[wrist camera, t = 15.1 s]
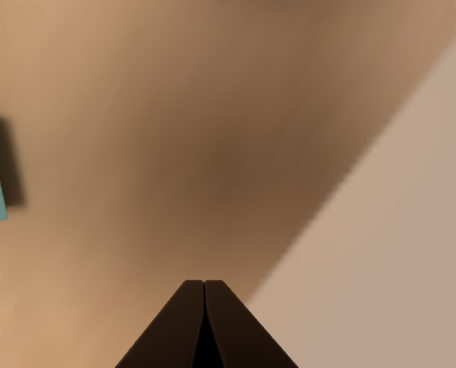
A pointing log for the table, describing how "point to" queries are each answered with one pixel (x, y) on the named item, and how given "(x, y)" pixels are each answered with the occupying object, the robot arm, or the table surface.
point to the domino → (2, 205)
